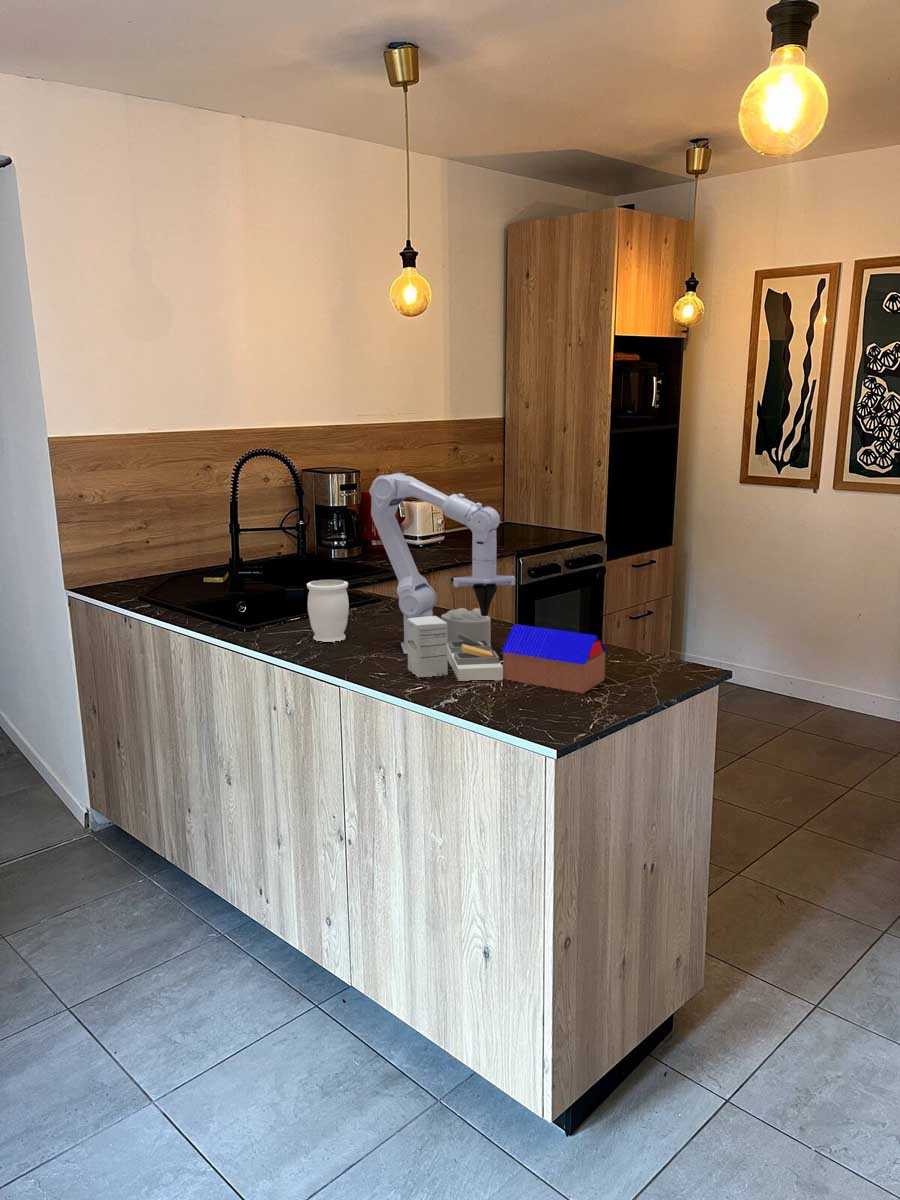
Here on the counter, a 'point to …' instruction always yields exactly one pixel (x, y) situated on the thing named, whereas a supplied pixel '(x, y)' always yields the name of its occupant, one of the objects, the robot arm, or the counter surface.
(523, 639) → the house
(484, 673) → the cream switch panel
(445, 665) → the supplement box
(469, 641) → the charcoal rocker
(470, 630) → the lumpy-topped squat cylinder
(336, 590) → the jar
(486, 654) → the amber rocker
